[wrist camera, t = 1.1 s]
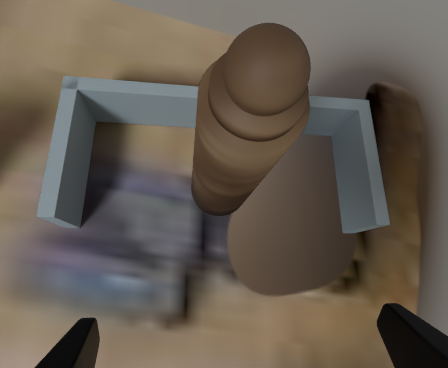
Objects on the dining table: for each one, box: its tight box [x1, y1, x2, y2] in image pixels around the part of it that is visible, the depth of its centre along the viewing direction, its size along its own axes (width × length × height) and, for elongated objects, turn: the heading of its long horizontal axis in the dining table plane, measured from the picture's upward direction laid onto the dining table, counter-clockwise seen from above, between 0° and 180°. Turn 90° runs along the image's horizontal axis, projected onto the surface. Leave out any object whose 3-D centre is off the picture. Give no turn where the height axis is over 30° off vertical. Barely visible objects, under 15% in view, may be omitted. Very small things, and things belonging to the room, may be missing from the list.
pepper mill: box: [191, 23, 310, 216], centre depth 16 cm, size 5×5×16 cm
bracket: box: [36, 76, 390, 233], centre depth 22 cm, size 10×23×4 cm, turn 90°
